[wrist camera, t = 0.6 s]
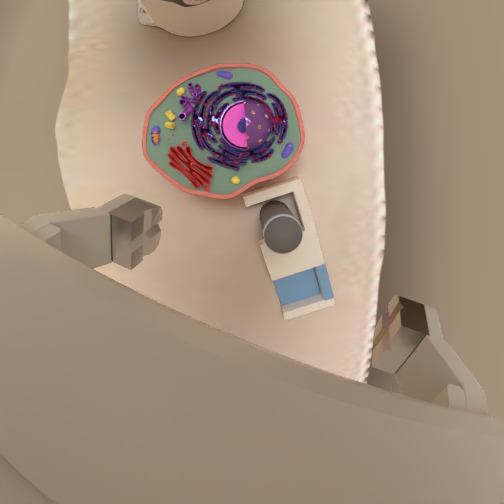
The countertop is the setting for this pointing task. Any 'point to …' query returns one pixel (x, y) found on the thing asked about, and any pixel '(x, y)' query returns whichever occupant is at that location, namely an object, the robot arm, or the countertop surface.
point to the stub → (280, 227)
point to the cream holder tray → (296, 257)
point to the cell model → (223, 130)
